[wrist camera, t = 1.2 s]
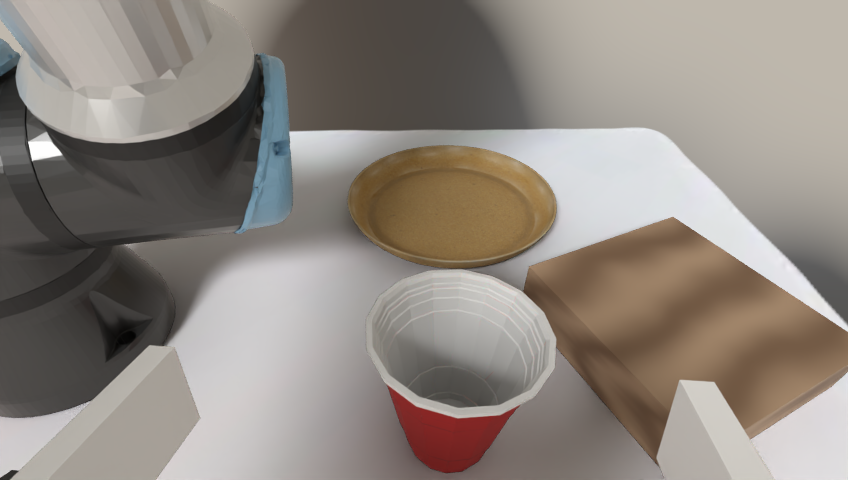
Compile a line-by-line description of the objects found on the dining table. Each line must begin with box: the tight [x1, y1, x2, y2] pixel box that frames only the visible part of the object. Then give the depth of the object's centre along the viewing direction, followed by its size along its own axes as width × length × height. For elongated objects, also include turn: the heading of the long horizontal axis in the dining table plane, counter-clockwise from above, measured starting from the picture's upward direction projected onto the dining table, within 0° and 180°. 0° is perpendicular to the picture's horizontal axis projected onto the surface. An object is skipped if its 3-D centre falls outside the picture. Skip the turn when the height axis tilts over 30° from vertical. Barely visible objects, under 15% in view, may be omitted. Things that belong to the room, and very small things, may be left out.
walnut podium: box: [523, 217, 848, 467], centre depth 37 cm, size 18×18×5 cm
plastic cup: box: [366, 269, 556, 473], centre depth 29 cm, size 11×11×12 cm
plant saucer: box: [348, 145, 557, 268], centre depth 53 cm, size 24×24×3 cm
